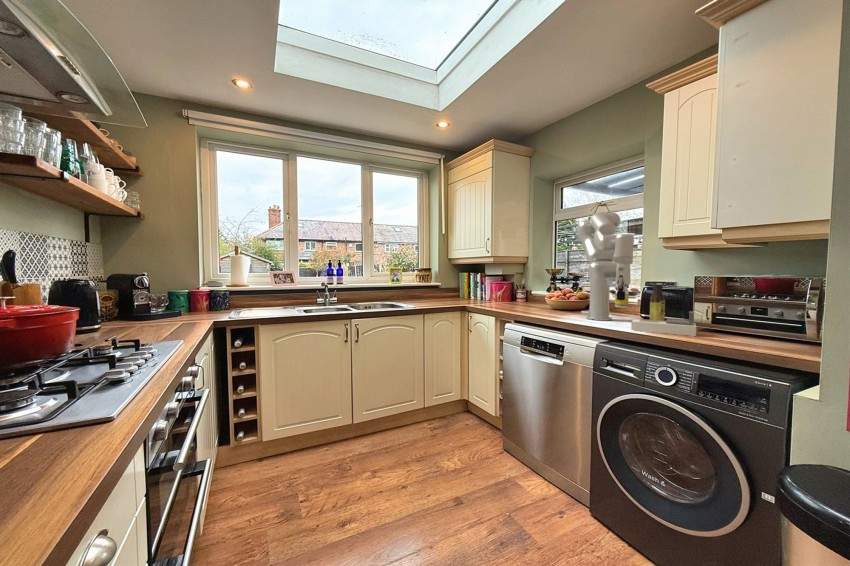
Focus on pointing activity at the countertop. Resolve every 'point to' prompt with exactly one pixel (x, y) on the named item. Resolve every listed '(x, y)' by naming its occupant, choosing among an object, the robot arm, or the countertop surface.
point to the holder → (663, 327)
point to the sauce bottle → (657, 303)
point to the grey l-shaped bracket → (682, 320)
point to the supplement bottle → (622, 302)
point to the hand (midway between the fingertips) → (621, 299)
